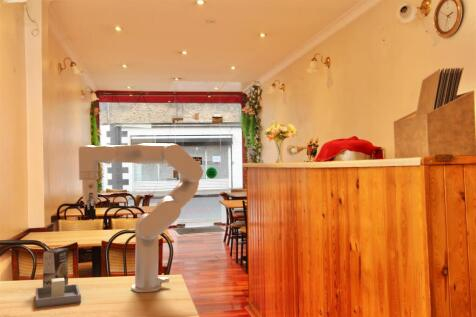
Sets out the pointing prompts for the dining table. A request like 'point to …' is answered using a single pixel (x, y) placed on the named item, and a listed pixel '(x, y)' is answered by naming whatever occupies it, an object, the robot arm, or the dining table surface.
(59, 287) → the cream rectangular block
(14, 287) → the dining table surface
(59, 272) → the coffee box
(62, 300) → the tray
